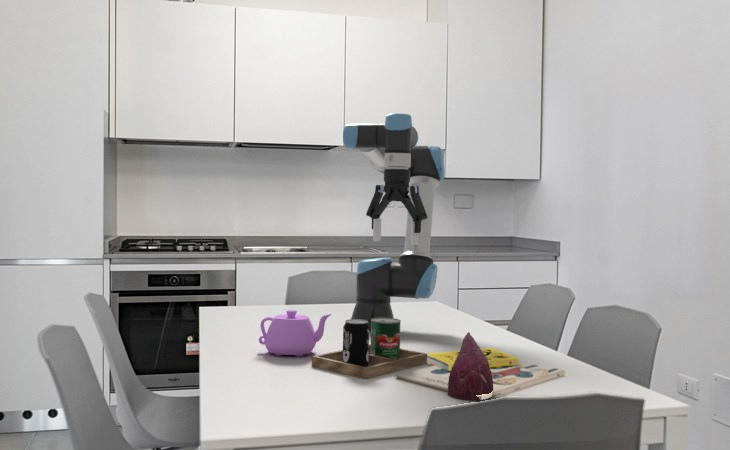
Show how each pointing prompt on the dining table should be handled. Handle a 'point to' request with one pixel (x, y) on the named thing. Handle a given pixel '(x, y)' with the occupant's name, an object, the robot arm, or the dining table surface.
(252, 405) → the dining table surface
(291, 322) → the teapot
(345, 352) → the beverage can
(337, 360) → the tray
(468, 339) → the vegetable
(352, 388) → the dining table surface
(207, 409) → the dining table surface
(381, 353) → the canned tomato
